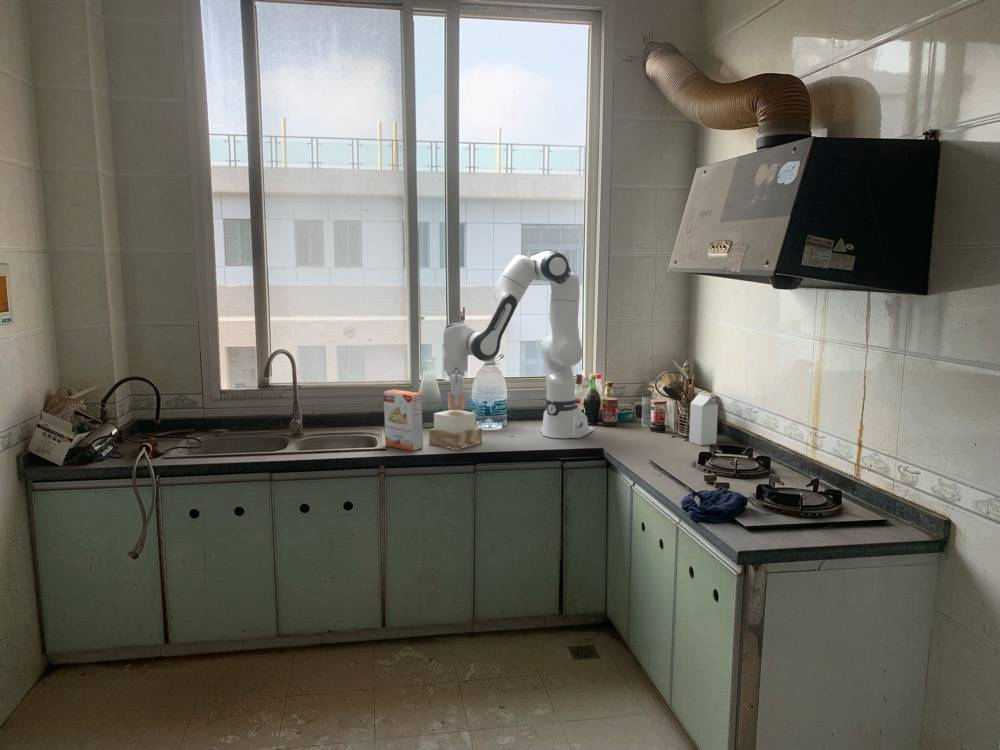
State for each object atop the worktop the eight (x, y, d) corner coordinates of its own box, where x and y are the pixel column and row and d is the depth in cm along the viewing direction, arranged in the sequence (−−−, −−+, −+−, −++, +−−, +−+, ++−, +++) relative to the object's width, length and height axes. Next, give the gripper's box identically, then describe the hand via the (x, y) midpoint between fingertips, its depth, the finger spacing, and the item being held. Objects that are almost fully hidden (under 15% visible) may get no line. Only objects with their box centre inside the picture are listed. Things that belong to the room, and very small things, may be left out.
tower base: (454, 438, 289) (454, 422, 288) (481, 443, 280) (481, 428, 279) (429, 445, 278) (428, 429, 277) (456, 451, 269) (456, 435, 268)
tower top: (455, 424, 286) (455, 408, 285) (475, 428, 278) (475, 413, 277) (434, 428, 278) (433, 413, 277) (453, 433, 270) (453, 417, 269)
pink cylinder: (456, 406, 280) (455, 390, 279) (467, 408, 277) (467, 392, 276) (444, 408, 276) (444, 392, 275) (456, 410, 272) (456, 394, 271)
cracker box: (384, 446, 275) (382, 391, 272) (395, 443, 280) (394, 388, 276) (412, 452, 267) (411, 395, 263) (423, 448, 272) (422, 392, 268)
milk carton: (700, 446, 273) (702, 395, 270) (688, 441, 280) (690, 392, 277) (716, 444, 276) (718, 394, 273) (704, 439, 282) (706, 390, 279)
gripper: (465, 370, 264) (465, 408, 266) (463, 362, 284) (463, 397, 286) (447, 370, 263) (448, 408, 265) (446, 362, 283) (447, 398, 286)
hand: (456, 402), depth 276 cm, fingers closed on pink cylinder, 6 cm apart
